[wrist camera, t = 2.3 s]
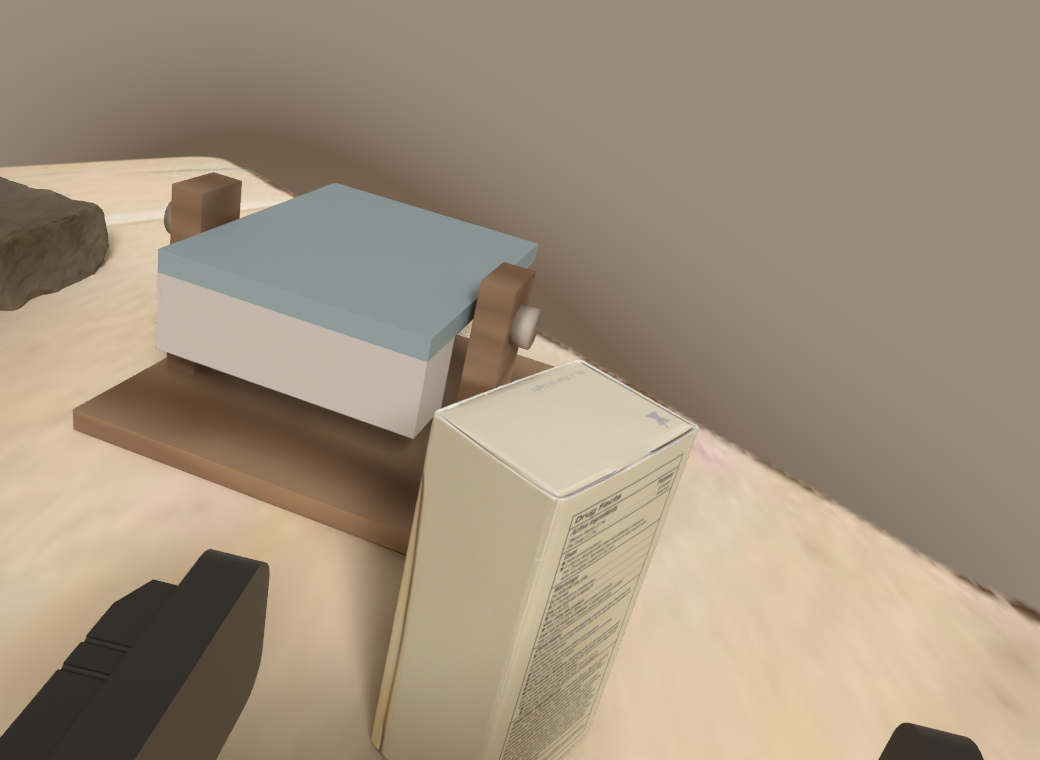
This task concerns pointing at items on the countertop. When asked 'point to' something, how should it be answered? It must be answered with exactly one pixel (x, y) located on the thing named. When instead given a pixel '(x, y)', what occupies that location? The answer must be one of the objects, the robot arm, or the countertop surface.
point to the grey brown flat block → (45, 242)
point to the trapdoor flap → (332, 300)
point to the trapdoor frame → (302, 407)
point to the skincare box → (525, 565)
